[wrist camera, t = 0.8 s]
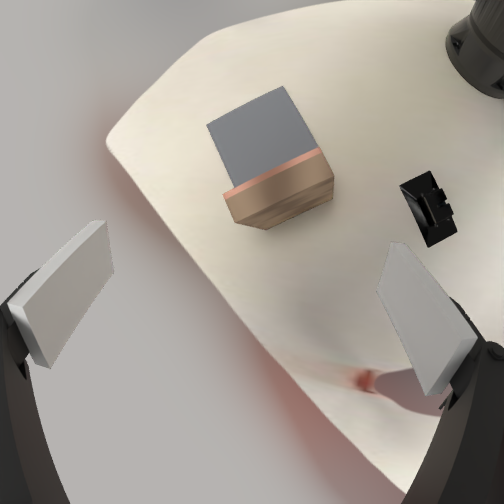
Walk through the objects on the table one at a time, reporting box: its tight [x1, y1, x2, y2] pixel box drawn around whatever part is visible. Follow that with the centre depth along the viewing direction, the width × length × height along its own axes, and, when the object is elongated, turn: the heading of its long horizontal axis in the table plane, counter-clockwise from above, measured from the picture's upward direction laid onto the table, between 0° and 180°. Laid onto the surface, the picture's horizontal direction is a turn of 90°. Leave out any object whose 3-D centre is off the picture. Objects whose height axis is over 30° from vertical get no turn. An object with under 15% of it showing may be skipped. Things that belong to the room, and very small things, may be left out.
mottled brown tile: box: [223, 147, 334, 230], centre depth 34 cm, size 10×3×14 cm, turn 114°
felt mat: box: [206, 86, 318, 188], centre depth 41 cm, size 13×15×1 cm
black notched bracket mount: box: [399, 171, 457, 248], centre depth 34 cm, size 12×7×5 cm, turn 25°
